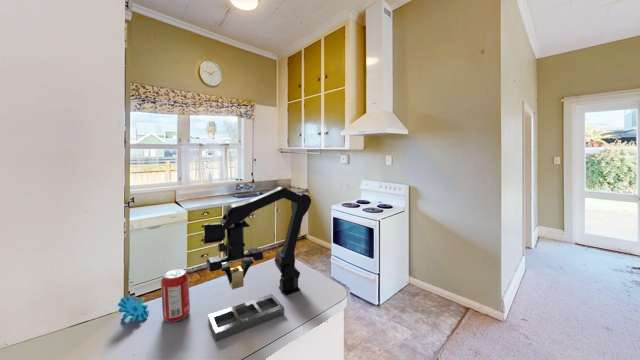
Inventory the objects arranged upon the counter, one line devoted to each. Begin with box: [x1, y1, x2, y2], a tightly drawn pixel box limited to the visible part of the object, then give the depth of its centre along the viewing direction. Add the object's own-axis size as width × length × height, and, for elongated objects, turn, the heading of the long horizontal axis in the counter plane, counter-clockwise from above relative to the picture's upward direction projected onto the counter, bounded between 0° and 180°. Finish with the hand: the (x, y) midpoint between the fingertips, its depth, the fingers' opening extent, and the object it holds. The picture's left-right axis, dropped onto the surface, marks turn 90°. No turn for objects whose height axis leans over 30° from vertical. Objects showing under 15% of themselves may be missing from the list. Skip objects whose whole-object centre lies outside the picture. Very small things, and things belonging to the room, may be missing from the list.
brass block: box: [228, 265, 245, 290], centre depth 92 cm, size 4×4×6 cm
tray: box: [208, 293, 285, 342], centre depth 84 cm, size 22×10×2 cm, turn 125°
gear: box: [117, 295, 150, 323], centre depth 83 cm, size 11×6×10 cm
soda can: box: [160, 268, 191, 322], centre depth 84 cm, size 8×8×15 cm
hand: (236, 281), depth 92 cm, fingers closed on brass block, 4 cm apart
